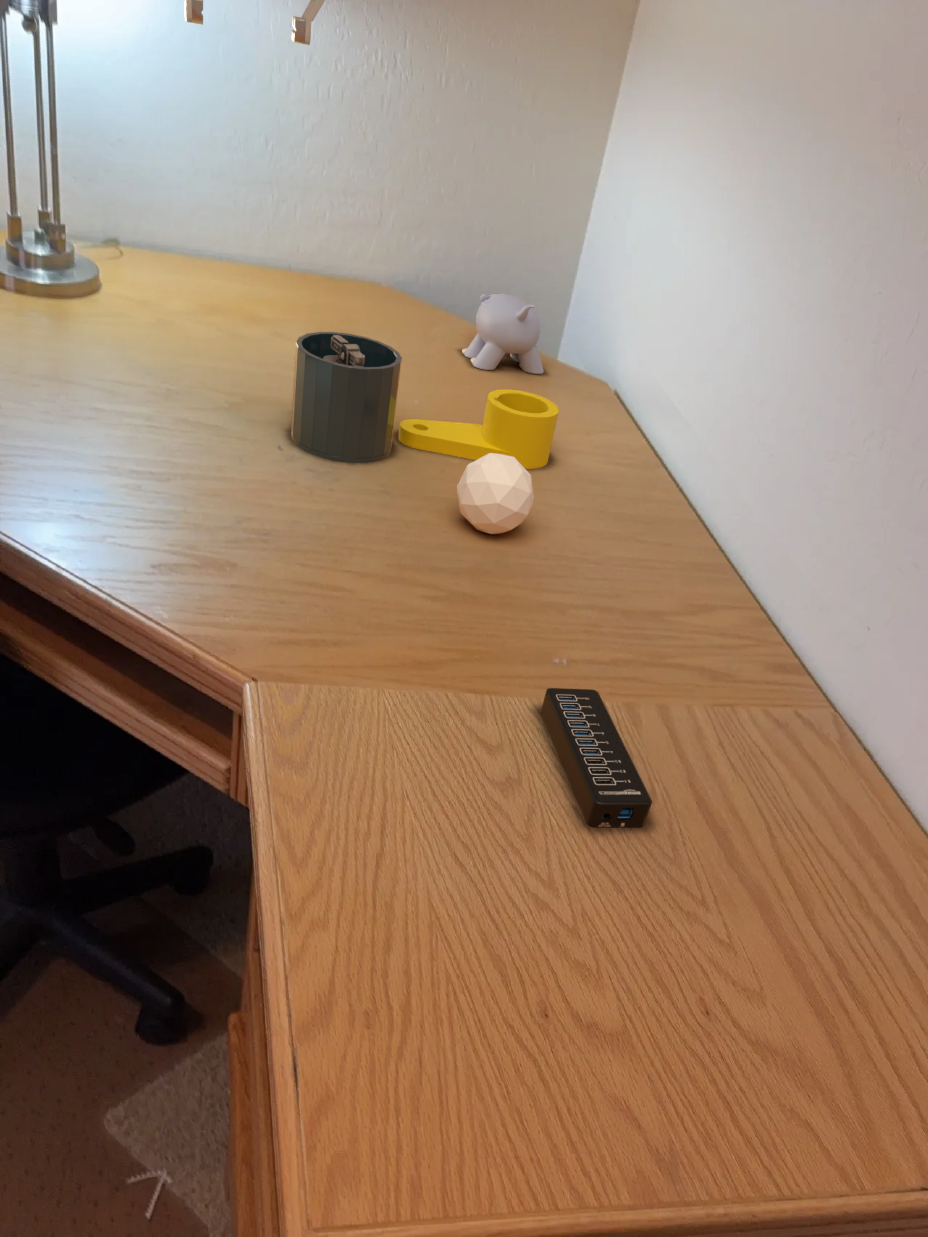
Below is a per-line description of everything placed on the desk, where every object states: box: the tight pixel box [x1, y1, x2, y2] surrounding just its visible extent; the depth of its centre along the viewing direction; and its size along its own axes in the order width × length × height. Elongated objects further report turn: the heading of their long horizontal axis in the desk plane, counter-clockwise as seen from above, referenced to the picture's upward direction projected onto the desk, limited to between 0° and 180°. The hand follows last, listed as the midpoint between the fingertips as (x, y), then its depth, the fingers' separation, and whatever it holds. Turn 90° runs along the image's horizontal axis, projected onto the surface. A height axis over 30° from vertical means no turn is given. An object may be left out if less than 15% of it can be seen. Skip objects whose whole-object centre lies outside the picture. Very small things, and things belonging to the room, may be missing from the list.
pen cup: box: [290, 331, 403, 464], centre depth 116 cm, size 11×11×10 cm
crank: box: [397, 388, 560, 470], centre depth 123 cm, size 18×8×6 cm, turn 97°
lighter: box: [323, 335, 365, 367], centre depth 116 cm, size 8×3×10 cm, turn 33°
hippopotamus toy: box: [461, 293, 545, 375], centre depth 149 cm, size 11×15×10 cm
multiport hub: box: [540, 687, 653, 829], centre depth 80 cm, size 4×14×2 cm, turn 12°
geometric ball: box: [455, 453, 535, 535], centre depth 107 cm, size 8×8×8 cm
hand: (248, 32), depth 95 cm, fingers open, 8 cm apart
